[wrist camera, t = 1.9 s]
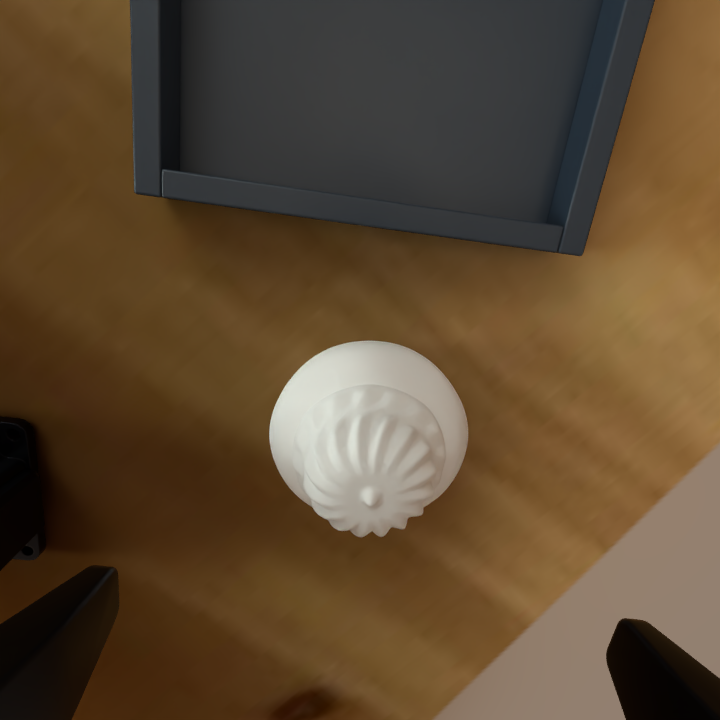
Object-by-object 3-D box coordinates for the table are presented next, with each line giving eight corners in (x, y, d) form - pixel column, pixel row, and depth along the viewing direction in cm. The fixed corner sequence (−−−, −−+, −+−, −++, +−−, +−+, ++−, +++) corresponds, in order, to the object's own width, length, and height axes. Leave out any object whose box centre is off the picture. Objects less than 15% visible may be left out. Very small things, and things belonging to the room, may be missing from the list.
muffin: (291, 463, 18) (254, 606, 12) (281, 316, 16) (229, 388, 10) (443, 461, 18) (491, 602, 12) (450, 314, 16) (512, 384, 10)
